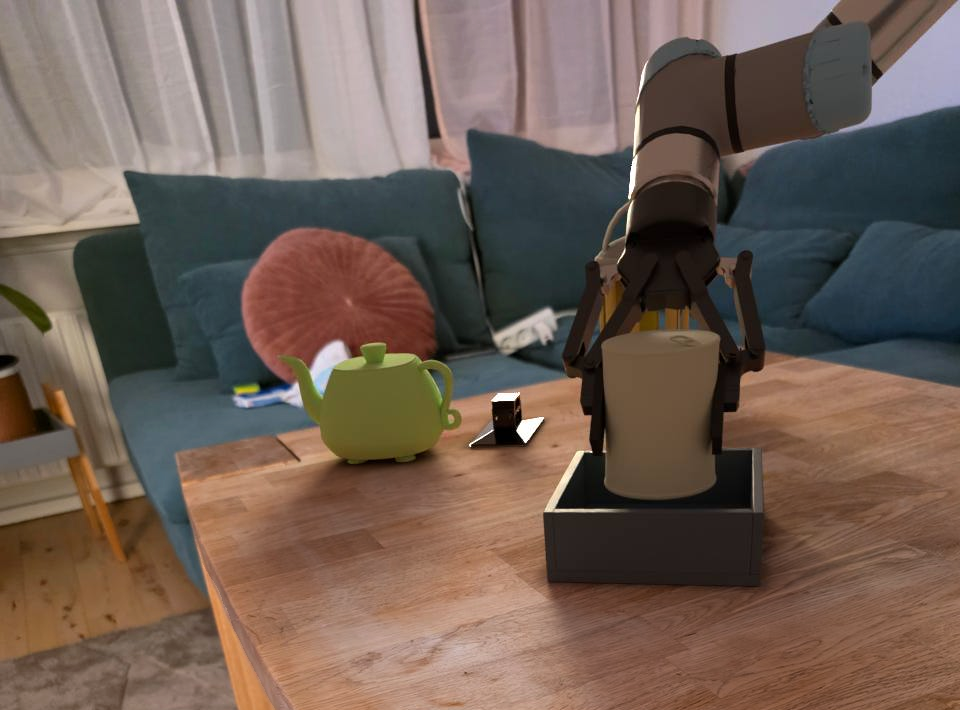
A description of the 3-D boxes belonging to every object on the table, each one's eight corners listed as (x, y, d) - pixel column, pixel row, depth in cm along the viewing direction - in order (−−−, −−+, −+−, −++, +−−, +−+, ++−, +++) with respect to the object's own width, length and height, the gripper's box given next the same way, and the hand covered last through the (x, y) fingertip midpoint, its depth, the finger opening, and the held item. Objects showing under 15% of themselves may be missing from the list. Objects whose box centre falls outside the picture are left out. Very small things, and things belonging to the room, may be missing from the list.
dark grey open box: (758, 510, 82) (761, 447, 79) (760, 586, 68) (764, 512, 65) (579, 510, 87) (577, 450, 84) (547, 581, 73) (542, 512, 70)
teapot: (275, 474, 108) (252, 363, 101) (317, 439, 120) (299, 339, 114) (451, 468, 103) (438, 351, 97) (476, 432, 116) (466, 327, 110)
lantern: (680, 374, 134) (682, 190, 123) (707, 395, 122) (712, 192, 110) (586, 385, 134) (580, 201, 123) (604, 406, 122) (598, 204, 110)
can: (657, 509, 69) (657, 350, 64) (581, 483, 76) (576, 338, 71) (740, 480, 73) (747, 328, 68) (661, 458, 80) (662, 319, 75)
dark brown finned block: (525, 447, 108) (522, 408, 106) (468, 448, 110) (464, 411, 108) (544, 419, 119) (542, 383, 117) (491, 420, 121) (488, 386, 119)
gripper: (800, 231, 77) (795, 468, 71) (556, 249, 83) (531, 470, 77) (809, 163, 70) (803, 419, 64) (541, 188, 76) (513, 426, 70)
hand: (655, 447), depth 70 cm, fingers closed on can, 9 cm apart
